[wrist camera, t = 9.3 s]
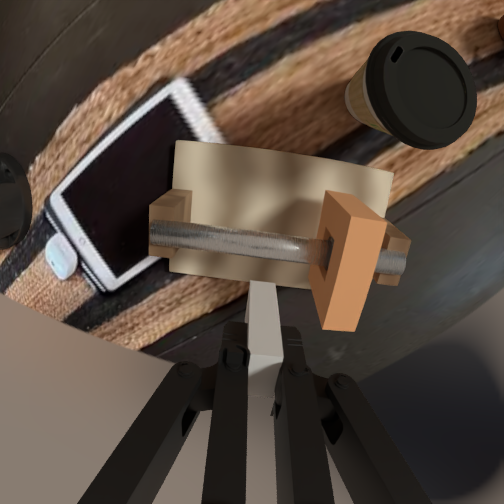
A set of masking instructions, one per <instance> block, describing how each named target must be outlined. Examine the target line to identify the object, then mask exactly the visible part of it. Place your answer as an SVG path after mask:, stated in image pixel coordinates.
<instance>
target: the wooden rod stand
mask: <svg viewBox="0 0 504 504" xmlns="http://www.w3.org/2000/svg"><path fill="white" fill-rule="evenodd" d="M393 175H394V173H392V172H389V171H385V170H380V169H376V168H371V167H367V166H362V165H357V164H352V163H347V162H342V161H337V160H332V159H326V158H321V157H315V156H309V155H303V154H297V153H291V152H284V151H277V150H270V149H262V148H254V147H246V146H237V145H228V144H218V143H207V142H195V141H181V140H178V141H176V146H175V158H174V171H173V186H172V189H171V190H170V191H168V192H167V193H165V194H164V195H163V196H161V197H160V198H158V199H157V200H156V201H154V202H153V203H151V204H150V205H149V255H150V256H157V257H164V258H170V261H169V271H171V272H178V273H185V274H192V275H199V276H207V277H214V278H222V279H229V280H237V281H245V282H250V280H252V281H261V282H270V283H275V285H278V286H286V287H295V288H304V289H311V286H310V282H309V279H308V274H309V270H310V265H311V264H303V263H295V262H287V261H279V260H271V259H263V258H255V257H247V256H240V255H232V254H224V253H216V252H208V251H200V250H193V249H185V248H177V247H169V246H162V245H154V244H151V242H150V228H151V224H152V222H153V220H154V219H157V220H166V221H181V222H189V223H198V224H206V225H214V226H223V227H231V228H239V229H247V230H255V231H262V232H270V233H278V234H285V235H293V236H300V237H307V238H315V239H316V237H317V232H318V227H319V222H320V216H321V211H322V206H323V200H324V195H325V190H330V191H335V192H341V193H347V194H352V195H354V196H355V197H356V198H358V199H359V200H360V201H361V202H363V203H364V204H365V205H367V206H368V207H369V208H370V209H372V210H373V211H374V212H375V213H376V214H378V215H379V216H380V217H381V218H383V219H384V220H385V221H386V222H387V226H386V230H385V234H384V238H383V242H382V246H381V248H384V249H387V250H393V251H400V252H404V253H405V256H406V257H407V254H408V250H409V247H410V243H411V240H410V239H409V238H408V237H407V236H405V235H404V234H403V233H402V232H401V231H400V230H398V229H397V228H396V227H395V226H394V225H392V224H391V223H390V222H389V221H387V220H386V219H385V218H384V217H385V212H386V208H387V203H388V199H389V194H390V190H391V185H392V180H393ZM400 276H401V275H393V274H385V273H376V272H374V274H373V278H374V280H375V281H376V283H377V284H385V285H394V286H397V285H398V282H399V279H400Z"/></svg>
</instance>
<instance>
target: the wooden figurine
mask: <svg viewBox="0 0 504 504" xmlns="http://www.w3.org/2000/svg"><path fill="white" fill-rule="evenodd" d="M498 29H499V32H500V35H501V37H502V39H503V40H504V15H503V16H502V17H501V18H500V20H499V22H498Z"/></svg>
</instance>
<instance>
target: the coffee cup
mask: <svg viewBox="0 0 504 504" xmlns="http://www.w3.org/2000/svg"><path fill="white" fill-rule="evenodd" d="M345 104H346V107H347V109H348V111H349V113H350V114H351V115H352V116H353V117H354V118H355V119H356V120H357V121H359V122H361V123H363V124H366V125H368V126H369V127H372V128H374V129H377V130H380V131H382V132H385V133H387V134H390V135H392V136H394V137H395V138H397V139H398V140H400V141H401V142H403V143H405V144H407V145H409V146H411V147H414V148H418V149H423V150H434V149H438V148H442V147H446V146H448V145H450V144H451V143H453V142H455V141H456V140H457V139H458V138H459V137H461V136H462V135H463V134H464V133H465V132H466V131H467V130H468V128H469V127H470V125H471V124H472V121H473V119H474V116H475V112H476V107H477V93H476V86H475V83H474V79H473V76H472V74H471V72H470V70H469V68H468V66H467V64H466V63H465V61H464V60H463V58H462V57H461V56H460V55H459V53H458V52H457V51H456V50H455V49H454V48H452V47H451V46H450V45H449V44H448V43H446V42H444V41H443V40H441V39H439V38H437V37H434V36H431V35H428V34H425V33H422V32H416V31H402V32H396V33H393V34H391V35H388V36H386V37H385V38H383V39H382V40H380V41H379V42H378V44H377V45H376V46H375V47H374V48H373V50H372V52H371V54H370V56H369V58H368V60H367V61H366V62H365V63H364V64H363V65H362V67H361V68H360V69H359V70H358V71H357V72H356V74H355V75H354V76H353V78H352V80H351V81H350V82H349V84H348V85H347V87H346V90H345Z"/></svg>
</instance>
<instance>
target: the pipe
mask: <svg viewBox="0 0 504 504" xmlns="http://www.w3.org/2000/svg"><path fill="white" fill-rule="evenodd" d="M150 242H151V244H154V245H162V246H169V247H177V248H185V249H193V250H200V251H208V252H216V253H224V254H232V255H240V256H247V257H255V258H263V259H271V260H279V261H287V262H295V263H303V264H311V265H319V266H324V268H325V270H326V271H327V270H328V266H329V262H330V258H331V253H332V249H333V245H334V239H333V237H332V236H330V237H329V238H328V240H322V239H315V238H307V237H300V236H293V235H285V234H278V233H270V232H262V231H255V230H247V229H239V228H231V227H223V226H214V225H206V224H198V223H189V222H181V221H166V220H157V219H154V220H153V222H152V224H151V228H150ZM405 266H406V256H405V253H404V252H400V251H393V250H387V249H384V248H381V249H380V253H379V256H378V260H377V264H376V267H375V270H374V272H376V273H385V274H393V275H401V274H402V273H403V272H404V269H405Z"/></svg>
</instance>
